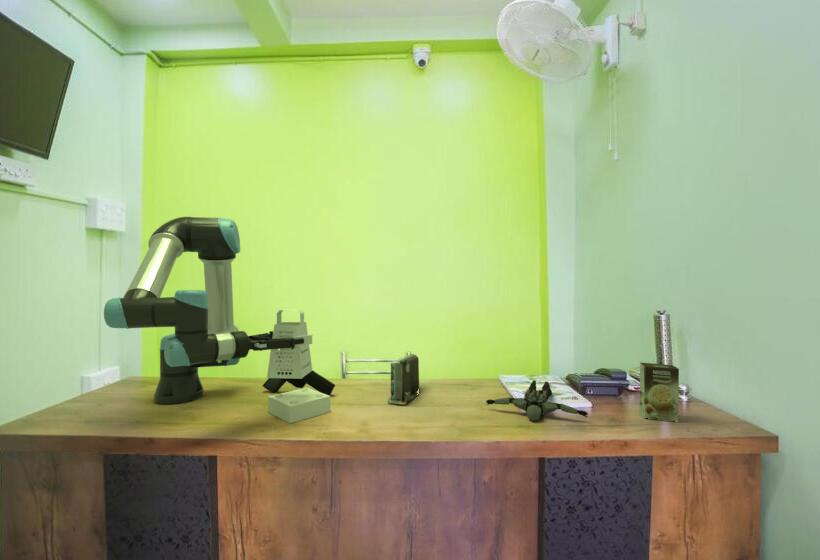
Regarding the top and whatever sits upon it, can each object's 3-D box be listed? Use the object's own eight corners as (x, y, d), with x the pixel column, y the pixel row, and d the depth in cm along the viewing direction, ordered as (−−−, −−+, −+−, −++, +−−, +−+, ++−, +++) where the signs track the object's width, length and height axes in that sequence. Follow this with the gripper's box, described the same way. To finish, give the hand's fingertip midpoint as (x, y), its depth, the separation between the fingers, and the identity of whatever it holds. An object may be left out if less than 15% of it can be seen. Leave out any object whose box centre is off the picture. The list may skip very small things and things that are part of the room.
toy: (498, 390, 147) (481, 422, 120) (498, 369, 147) (481, 396, 119) (585, 400, 136) (588, 437, 108) (585, 377, 135) (588, 408, 108)
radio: (409, 386, 153) (409, 349, 153) (429, 389, 149) (429, 350, 149) (381, 403, 131) (382, 360, 131) (405, 407, 128) (405, 362, 128)
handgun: (314, 421, 140) (333, 386, 138) (262, 386, 144) (279, 351, 142) (317, 418, 142) (335, 384, 141) (265, 384, 146) (283, 350, 145)
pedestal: (268, 412, 122) (268, 395, 122) (306, 402, 133) (306, 386, 133) (290, 423, 113) (290, 405, 113) (330, 411, 123) (330, 395, 123)
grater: (301, 378, 114) (301, 311, 114) (266, 378, 115) (266, 311, 115) (312, 370, 124) (312, 308, 125) (280, 369, 125) (280, 308, 125)
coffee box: (643, 419, 117) (643, 366, 117) (638, 412, 123) (638, 362, 123) (679, 422, 114) (679, 368, 114) (672, 415, 120) (672, 364, 120)
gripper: (215, 353, 115) (284, 344, 130) (247, 365, 99) (322, 354, 114) (215, 328, 115) (284, 322, 130) (247, 336, 99) (322, 328, 114)
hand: (302, 337), depth 122 cm, fingers closed on grater, 11 cm apart
